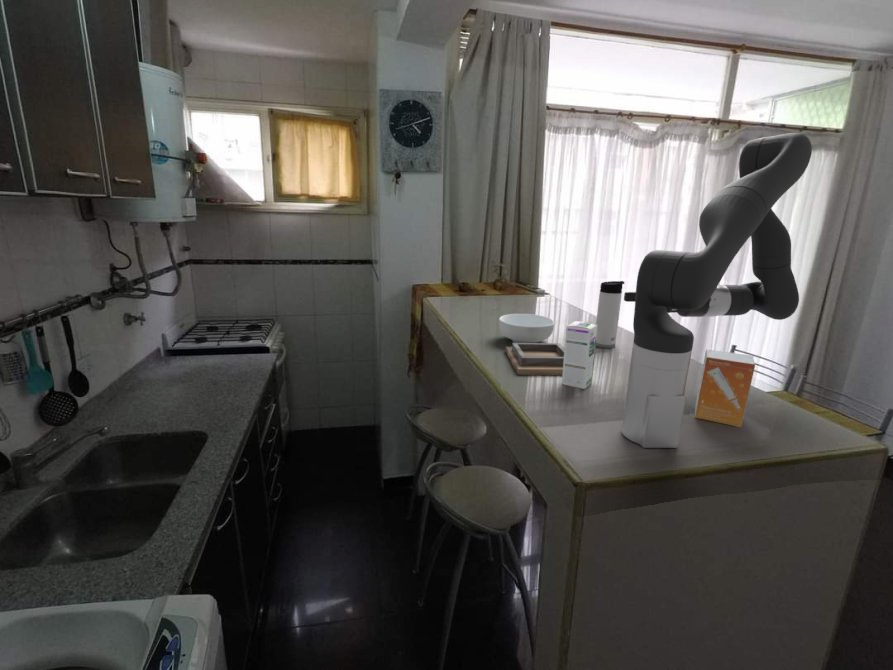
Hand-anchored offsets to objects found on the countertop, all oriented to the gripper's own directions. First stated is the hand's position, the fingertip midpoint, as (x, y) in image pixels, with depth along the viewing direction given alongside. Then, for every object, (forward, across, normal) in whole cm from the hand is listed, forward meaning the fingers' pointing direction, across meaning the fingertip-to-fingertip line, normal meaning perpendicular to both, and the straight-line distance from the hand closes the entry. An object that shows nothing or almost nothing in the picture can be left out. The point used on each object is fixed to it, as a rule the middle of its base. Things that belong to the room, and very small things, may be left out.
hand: (632, 300), depth 102 cm
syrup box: (+11, 0, +20) cm, 23 cm away
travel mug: (-8, -32, +21) cm, 39 cm away
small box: (-12, +18, +20) cm, 30 cm away
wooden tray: (+16, -15, +20) cm, 30 cm away
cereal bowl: (+16, -36, +21) cm, 44 cm away
